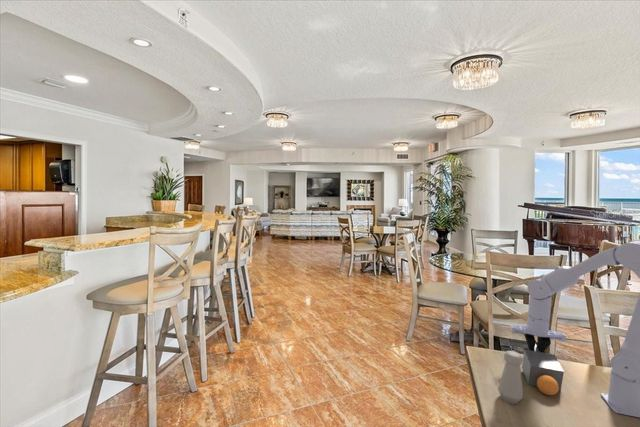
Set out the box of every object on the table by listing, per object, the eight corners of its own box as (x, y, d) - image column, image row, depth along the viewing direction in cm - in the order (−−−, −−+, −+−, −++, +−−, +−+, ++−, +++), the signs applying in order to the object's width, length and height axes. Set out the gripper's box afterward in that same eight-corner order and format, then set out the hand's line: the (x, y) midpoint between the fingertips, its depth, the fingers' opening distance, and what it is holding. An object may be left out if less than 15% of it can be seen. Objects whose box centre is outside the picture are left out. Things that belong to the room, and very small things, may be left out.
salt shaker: (525, 408, 86) (530, 360, 84) (501, 404, 87) (505, 357, 86) (517, 394, 91) (521, 349, 90) (494, 391, 92) (498, 346, 91)
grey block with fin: (560, 391, 93) (563, 371, 92) (528, 384, 96) (530, 365, 95) (546, 361, 106) (548, 343, 105) (517, 356, 109) (519, 338, 108)
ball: (555, 375, 94) (561, 379, 89) (555, 394, 93) (561, 399, 88) (534, 371, 95) (539, 375, 91) (535, 390, 95) (539, 395, 90)
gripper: (561, 315, 105) (557, 356, 106) (509, 308, 109) (506, 347, 111) (570, 324, 98) (565, 368, 99) (514, 316, 103) (510, 358, 104)
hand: (534, 358), depth 104 cm, fingers closed on grey block with fin
